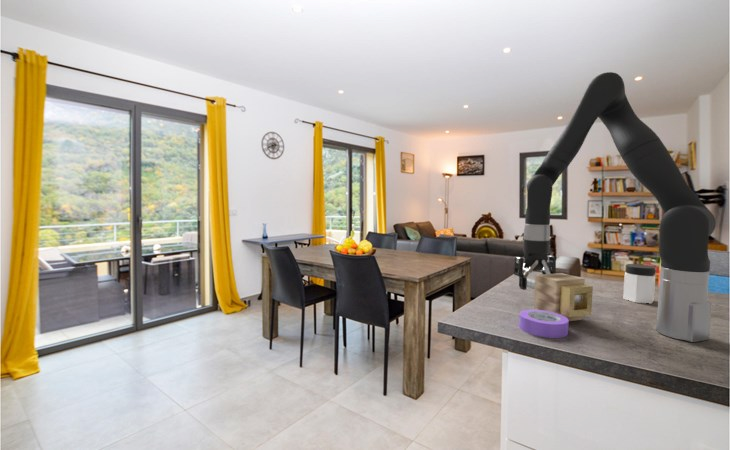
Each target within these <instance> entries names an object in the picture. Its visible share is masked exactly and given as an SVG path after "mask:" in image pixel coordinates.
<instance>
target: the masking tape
mask: <svg viewBox="0 0 730 450" xmlns="http://www.w3.org/2000/svg"><path fill="white" fill-rule="evenodd" d="M518 321H519V322H518V323H519V324H518V327H519V329H520V330H522V331H523V332H525V333H528V334H530V335H532V336H535V337H540V338H541V337H542V338H550V339H551V338H552V339H556V338H557V339H559V338H564V337H567V336H568V334H569V322H570V321H569V320H568V318H566V317H565V316H563V315H560V314H558V313H554V312H550V311H544V310H534V309H523V310H521V311H520V312H519V320H518Z"/></svg>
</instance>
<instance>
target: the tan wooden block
mask: <svg viewBox="0 0 730 450" xmlns="http://www.w3.org/2000/svg"><path fill="white" fill-rule="evenodd" d="M534 276H535V277H534V279H535V289H534V296H533V297H534V299H533V310H544V311H550V312H554V313H558V314H560V296H561V286H563V285H575V284H585V278H584V277H579V276H576V275H571V274H567V273H563V272H558V273H557V272H556V273H555V274H542V273H541V274H535V275H534ZM574 306H578V303H575V302H574ZM560 315H562V314H560ZM563 316H564V315H563ZM565 317H566V318H568V320H569V322H572V321H573V322H574V321H581V320H584V319H583V318H584V315H583V316H574V317H567V316H565Z"/></svg>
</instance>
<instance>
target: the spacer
mask: <svg viewBox="0 0 730 450" xmlns="http://www.w3.org/2000/svg"><path fill="white" fill-rule="evenodd" d="M593 288H594V286H593V285H590V284H585V283H584V284H575V285H563V286H561V296H560V314H562V315H564V316H567V317H574V316H583V317H584V316H589V315H592V312H593V311H592V310H593V309H592V307H593ZM580 293H582V294H583V296H584V299H583V301H582V302H581V303H579V304H578V306H574V298H575V294H580Z"/></svg>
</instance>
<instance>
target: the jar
mask: <svg viewBox="0 0 730 450" xmlns="http://www.w3.org/2000/svg"><path fill="white" fill-rule="evenodd" d="M656 273H657V269H656V267H655V266H652V265H647V264H638V263H627V264H626V265H625V272H624V279H623V298H622V299H623V300H625V301H628V300H629V302H632V303H635V302H636V304H646V303H649V304H648V305H651V304H653V303H654V300H655V289H656Z"/></svg>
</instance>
